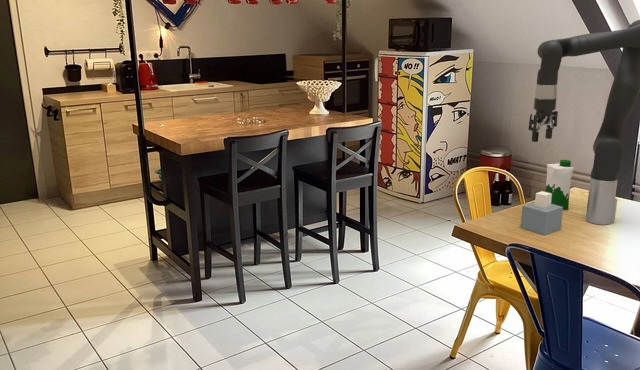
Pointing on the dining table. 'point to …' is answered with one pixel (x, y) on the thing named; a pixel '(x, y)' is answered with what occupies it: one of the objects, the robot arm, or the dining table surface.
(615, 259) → the dining table surface
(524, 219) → the tissue box
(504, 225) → the dining table surface
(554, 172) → the milk carton
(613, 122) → the robot arm
